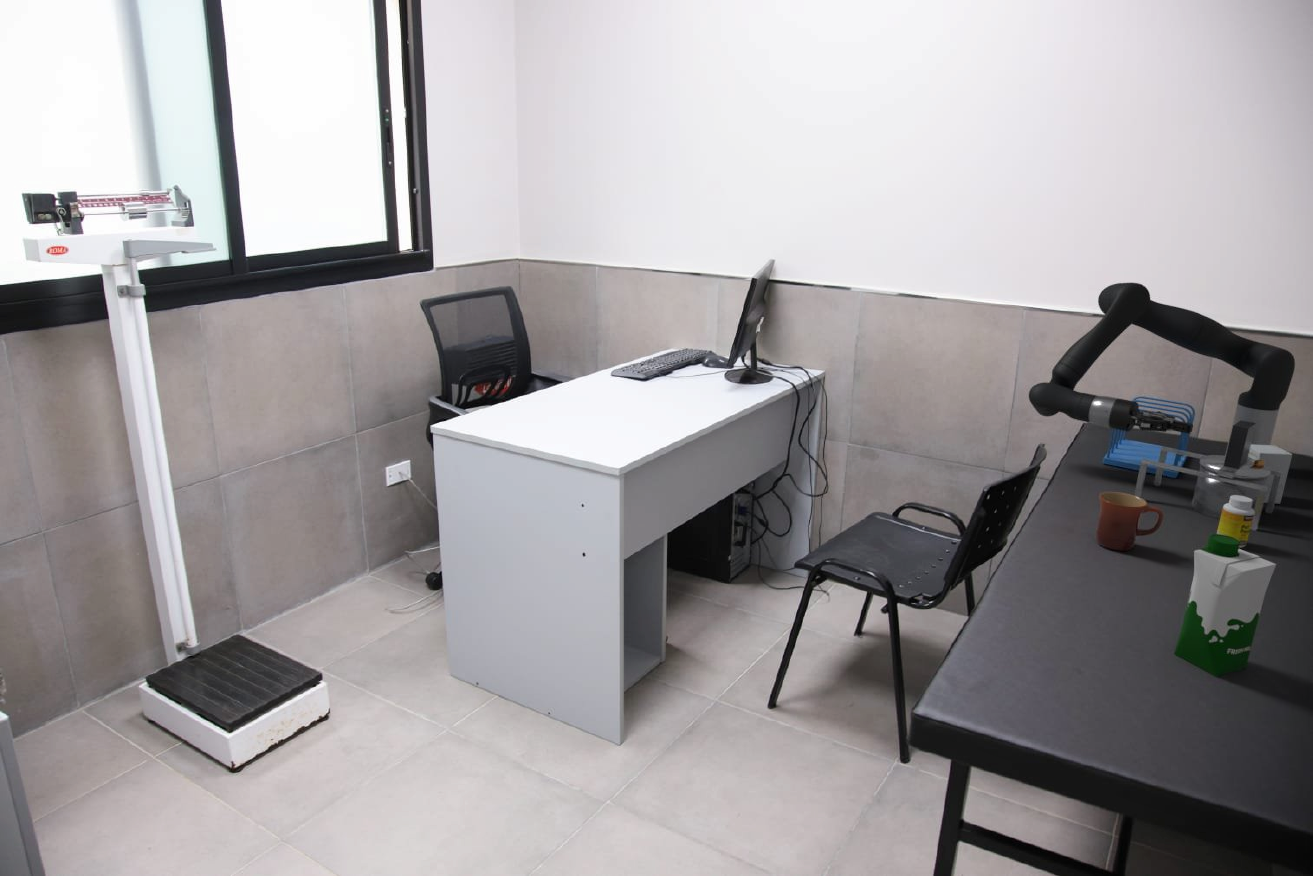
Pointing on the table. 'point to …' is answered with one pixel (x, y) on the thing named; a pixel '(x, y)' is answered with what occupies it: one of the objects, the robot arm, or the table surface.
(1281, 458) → the supplement box
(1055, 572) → the table surface
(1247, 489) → the cooker pot
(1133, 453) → the file sorter
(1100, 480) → the table surface
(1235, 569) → the milk carton
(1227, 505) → the supplement bottle
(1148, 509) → the mug
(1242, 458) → the steel lid
